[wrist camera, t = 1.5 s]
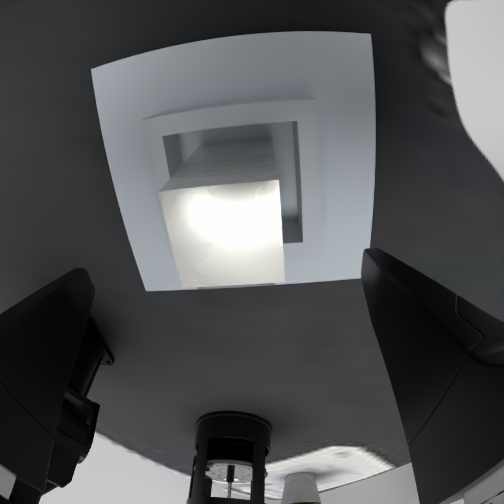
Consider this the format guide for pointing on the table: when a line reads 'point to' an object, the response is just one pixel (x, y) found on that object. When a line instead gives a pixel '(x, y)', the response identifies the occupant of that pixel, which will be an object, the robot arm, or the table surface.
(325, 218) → the stand base
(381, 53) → the table surface
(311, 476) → the house plant
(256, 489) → the french press
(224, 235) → the column
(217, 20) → the table surface
